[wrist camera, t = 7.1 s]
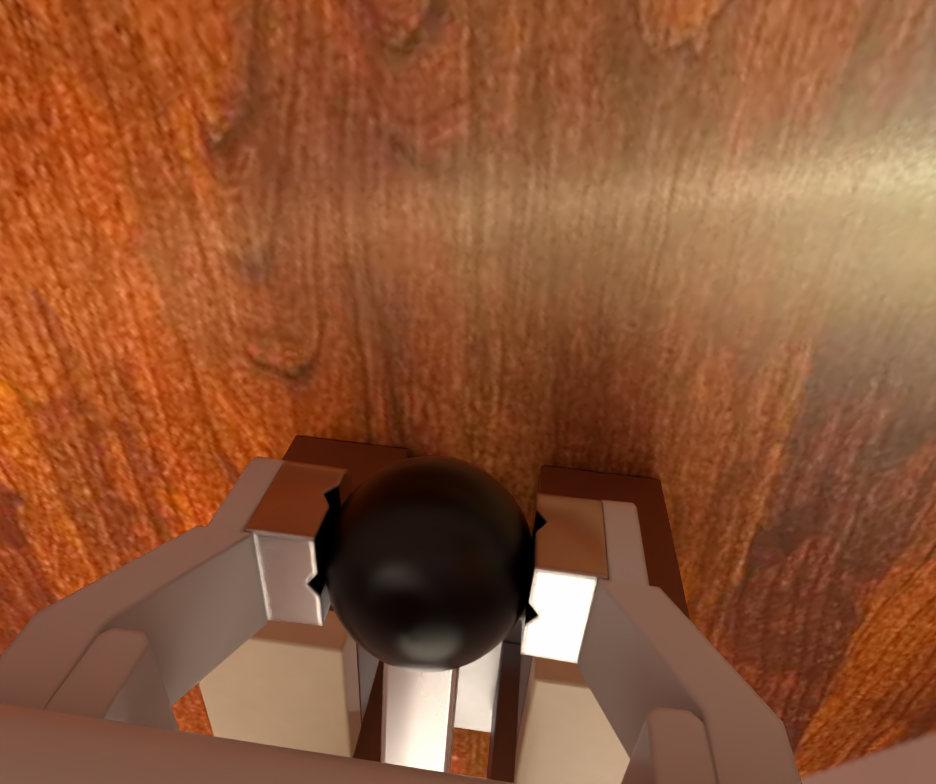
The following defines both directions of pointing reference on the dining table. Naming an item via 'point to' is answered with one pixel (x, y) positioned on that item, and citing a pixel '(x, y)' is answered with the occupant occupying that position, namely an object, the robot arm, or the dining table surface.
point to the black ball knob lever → (427, 589)
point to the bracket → (469, 706)
